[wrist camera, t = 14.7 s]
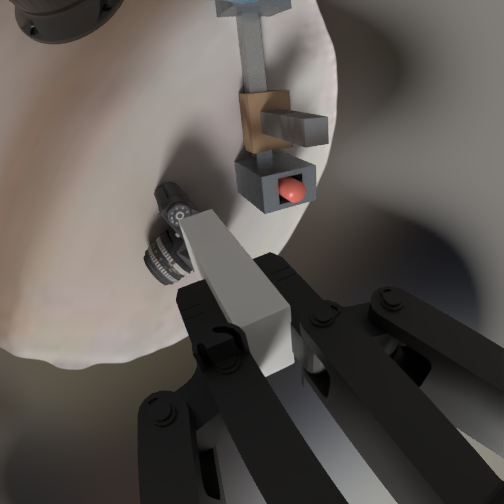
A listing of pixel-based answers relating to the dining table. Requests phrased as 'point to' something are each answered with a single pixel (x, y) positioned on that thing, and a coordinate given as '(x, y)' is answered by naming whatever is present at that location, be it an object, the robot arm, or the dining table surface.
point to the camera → (171, 236)
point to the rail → (249, 33)
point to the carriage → (278, 123)
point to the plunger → (291, 189)
